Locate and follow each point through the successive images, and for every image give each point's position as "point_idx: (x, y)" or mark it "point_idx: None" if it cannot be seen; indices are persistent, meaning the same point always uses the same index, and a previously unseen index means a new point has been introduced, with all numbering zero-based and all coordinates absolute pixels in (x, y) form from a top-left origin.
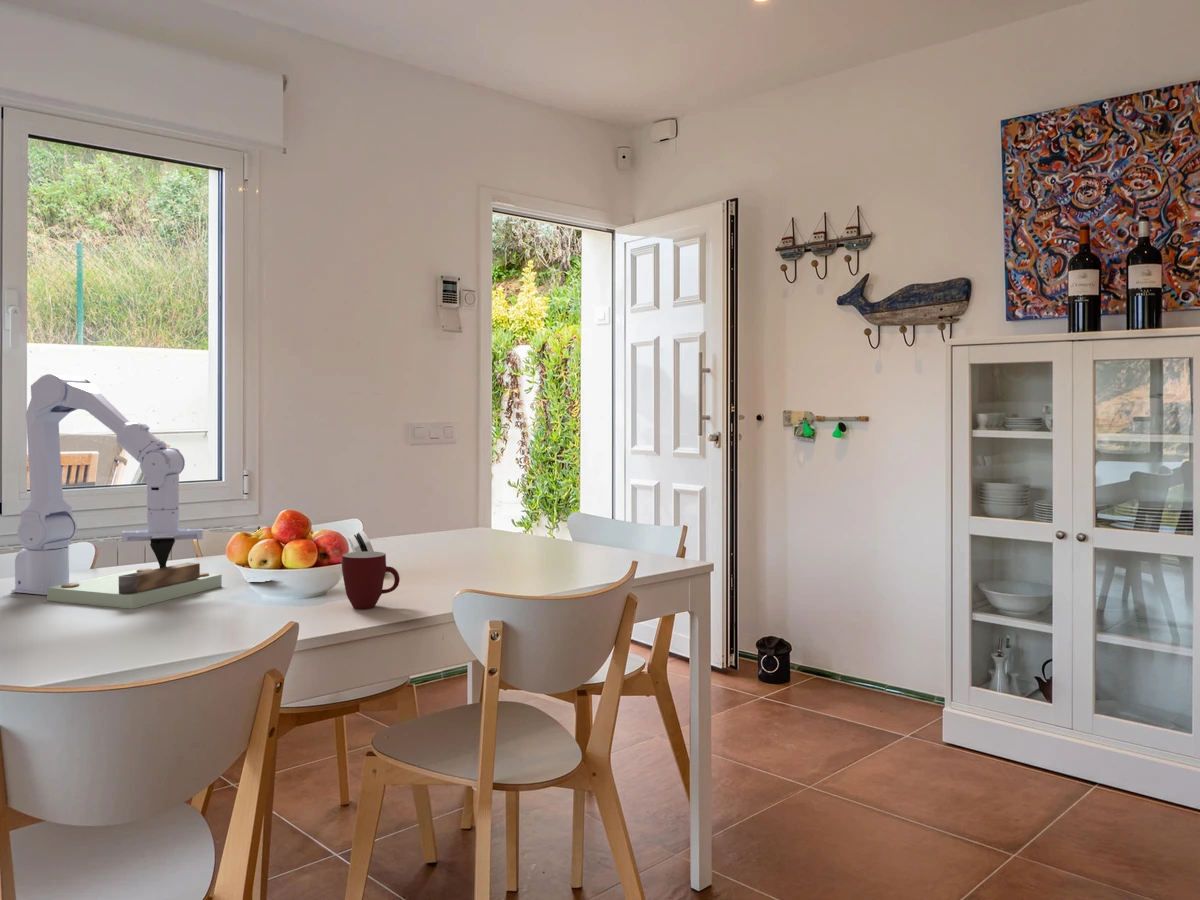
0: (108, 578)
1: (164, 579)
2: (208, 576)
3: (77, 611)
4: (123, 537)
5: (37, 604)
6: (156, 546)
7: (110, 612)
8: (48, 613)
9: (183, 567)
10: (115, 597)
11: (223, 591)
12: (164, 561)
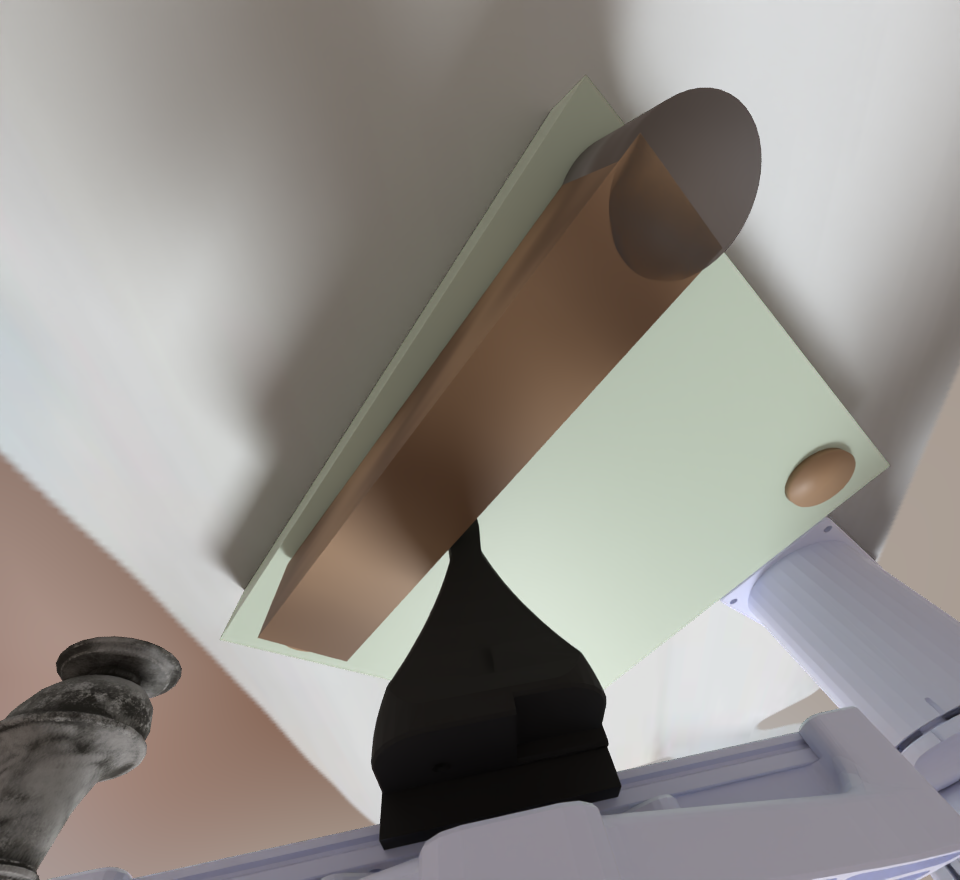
0: (670, 597)
1: (421, 393)
2: (268, 606)
3: (805, 148)
4: (893, 763)
5: (879, 380)
6: (538, 666)
7: (667, 26)
8: (920, 140)
9: (325, 544)
10: None
11: (181, 498)
12: (454, 576)
